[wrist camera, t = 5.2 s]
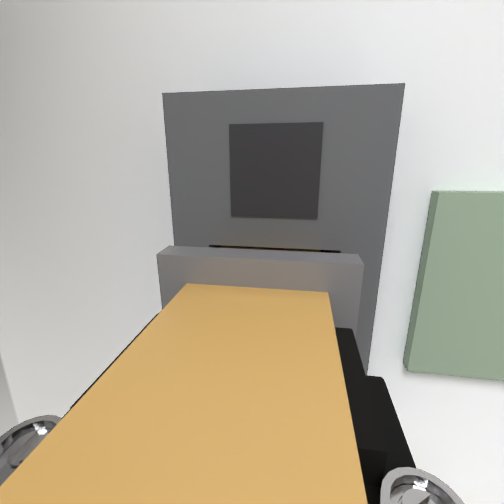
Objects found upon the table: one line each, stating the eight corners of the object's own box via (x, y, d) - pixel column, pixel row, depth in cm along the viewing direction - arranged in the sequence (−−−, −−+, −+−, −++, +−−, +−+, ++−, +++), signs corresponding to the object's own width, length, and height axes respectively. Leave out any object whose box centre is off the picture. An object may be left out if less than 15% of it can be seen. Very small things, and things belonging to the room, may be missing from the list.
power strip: (196, 109, 16) (155, 89, 11) (378, 104, 14) (410, 78, 10) (210, 392, 21) (186, 453, 16) (344, 409, 19) (356, 480, 15)
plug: (205, 221, 14) (-342, 586, 2) (342, 225, 13) (744, 931, 1) (211, 336, 16) (-62, 871, 4) (331, 347, 15) (443, 1091, 3)
